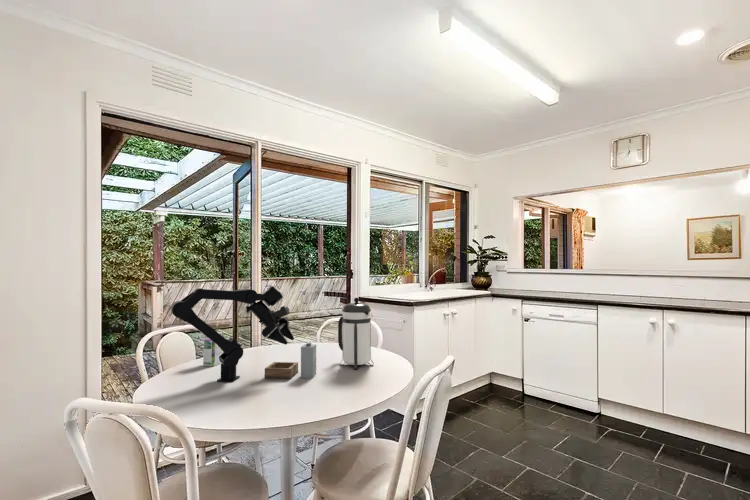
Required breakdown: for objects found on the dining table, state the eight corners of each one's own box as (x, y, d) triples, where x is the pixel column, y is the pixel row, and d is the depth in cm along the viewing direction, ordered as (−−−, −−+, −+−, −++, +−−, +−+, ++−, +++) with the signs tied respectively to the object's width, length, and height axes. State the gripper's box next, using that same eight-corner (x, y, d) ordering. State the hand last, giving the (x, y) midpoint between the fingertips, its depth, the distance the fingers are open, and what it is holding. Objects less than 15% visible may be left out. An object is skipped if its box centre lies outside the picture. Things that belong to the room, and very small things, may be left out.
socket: (290, 379, 150) (290, 369, 150) (264, 378, 151) (264, 368, 151) (298, 372, 160) (298, 362, 160) (273, 371, 161) (273, 362, 161)
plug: (313, 377, 152) (313, 344, 152) (300, 377, 152) (300, 344, 153) (316, 374, 157) (316, 342, 157) (304, 374, 157) (304, 342, 158)
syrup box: (202, 365, 171) (202, 333, 172) (211, 362, 177) (212, 330, 178) (213, 366, 170) (213, 333, 170) (222, 363, 175) (222, 331, 176)
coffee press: (375, 361, 178) (375, 296, 180) (371, 370, 162) (371, 298, 164) (338, 360, 180) (338, 296, 181) (331, 369, 164) (331, 298, 165)
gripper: (270, 302, 148) (298, 331, 147) (284, 298, 167) (309, 324, 165) (249, 322, 148) (277, 351, 147) (266, 316, 167) (291, 342, 165)
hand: (290, 341), depth 156 cm, fingers open, 9 cm apart
